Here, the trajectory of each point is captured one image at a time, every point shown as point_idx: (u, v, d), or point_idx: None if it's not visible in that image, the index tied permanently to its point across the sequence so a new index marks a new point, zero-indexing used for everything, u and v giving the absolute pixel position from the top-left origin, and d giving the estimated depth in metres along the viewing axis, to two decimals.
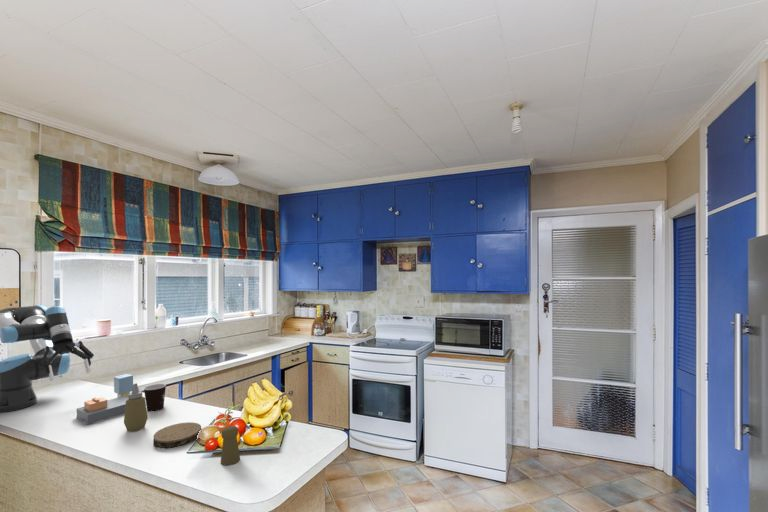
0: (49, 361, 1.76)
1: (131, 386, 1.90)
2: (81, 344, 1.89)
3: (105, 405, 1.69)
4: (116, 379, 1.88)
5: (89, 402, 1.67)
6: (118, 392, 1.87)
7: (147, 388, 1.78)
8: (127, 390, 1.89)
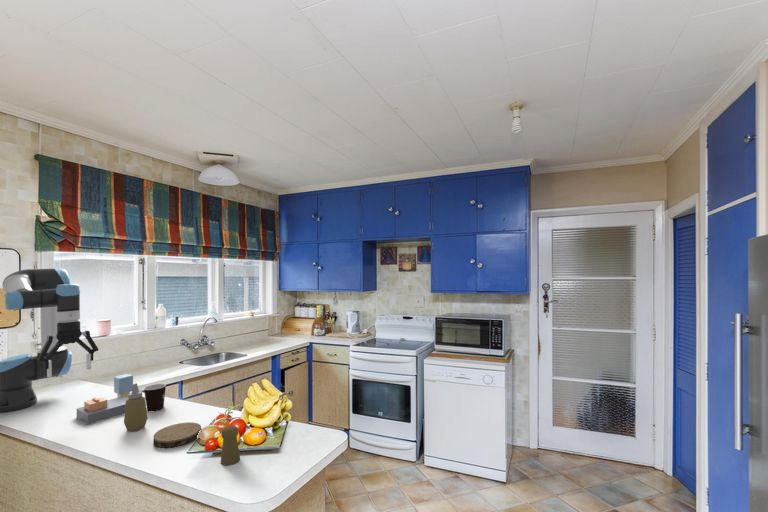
0: (50, 355, 1.56)
1: (131, 386, 1.90)
2: (88, 335, 1.67)
3: (105, 405, 1.69)
4: (116, 379, 1.88)
5: (89, 402, 1.67)
6: (118, 392, 1.87)
7: (147, 388, 1.78)
8: (127, 390, 1.89)
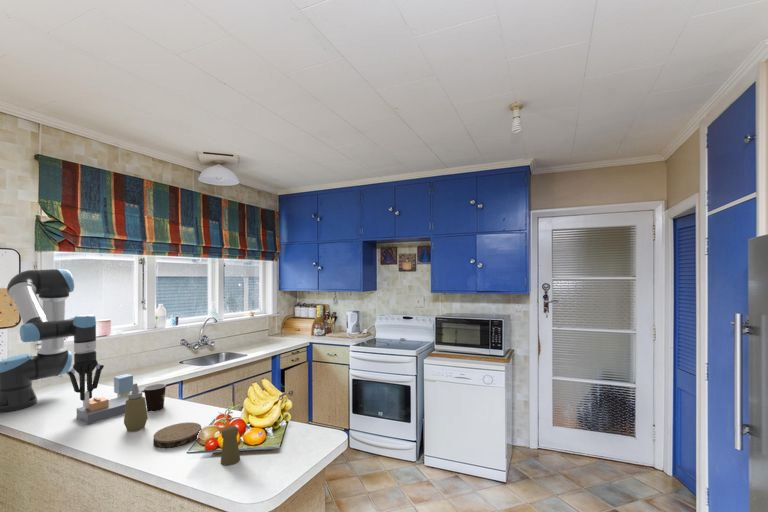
0: (83, 387, 1.65)
1: (131, 386, 1.90)
2: (100, 369, 1.70)
3: (106, 405, 1.70)
4: (116, 379, 1.88)
5: (90, 402, 1.67)
6: (118, 392, 1.87)
7: (147, 388, 1.78)
8: (127, 390, 1.89)
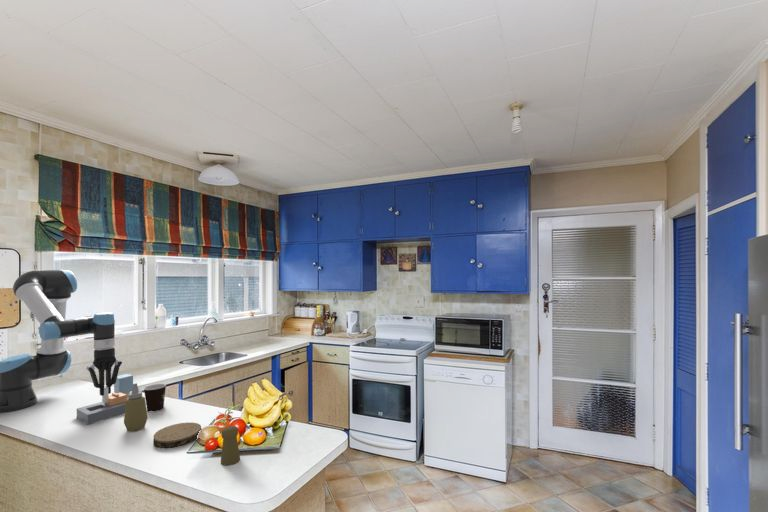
0: (102, 383, 1.70)
1: (131, 386, 1.90)
2: (118, 365, 1.75)
3: (124, 400, 1.75)
4: None
5: (109, 397, 1.73)
6: (118, 392, 1.87)
7: (147, 388, 1.78)
8: (127, 390, 1.89)
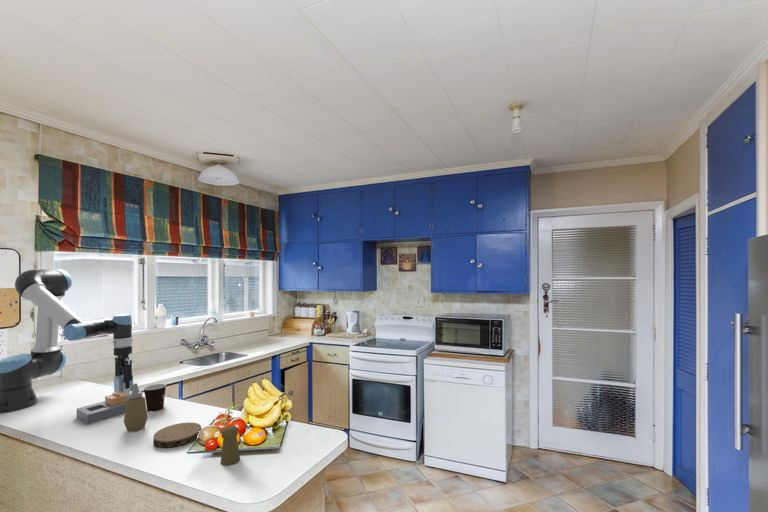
0: (117, 375, 1.92)
1: (131, 386, 1.90)
2: (125, 364, 1.86)
3: (125, 400, 1.75)
4: (116, 379, 1.88)
5: (110, 397, 1.73)
6: (118, 392, 1.87)
7: (147, 388, 1.78)
8: None
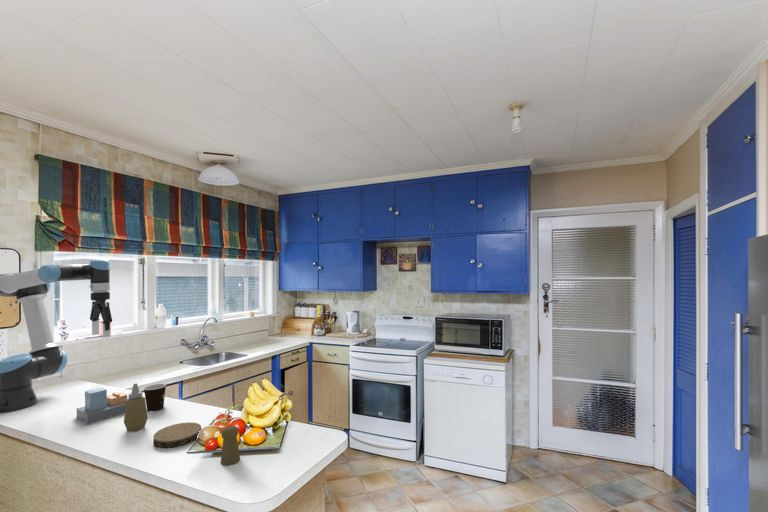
0: (92, 317, 1.91)
1: (104, 402, 1.69)
2: (102, 306, 1.84)
3: (125, 400, 1.75)
4: (87, 394, 1.67)
5: (110, 397, 1.73)
6: (89, 409, 1.66)
7: (147, 388, 1.78)
8: (100, 406, 1.68)
